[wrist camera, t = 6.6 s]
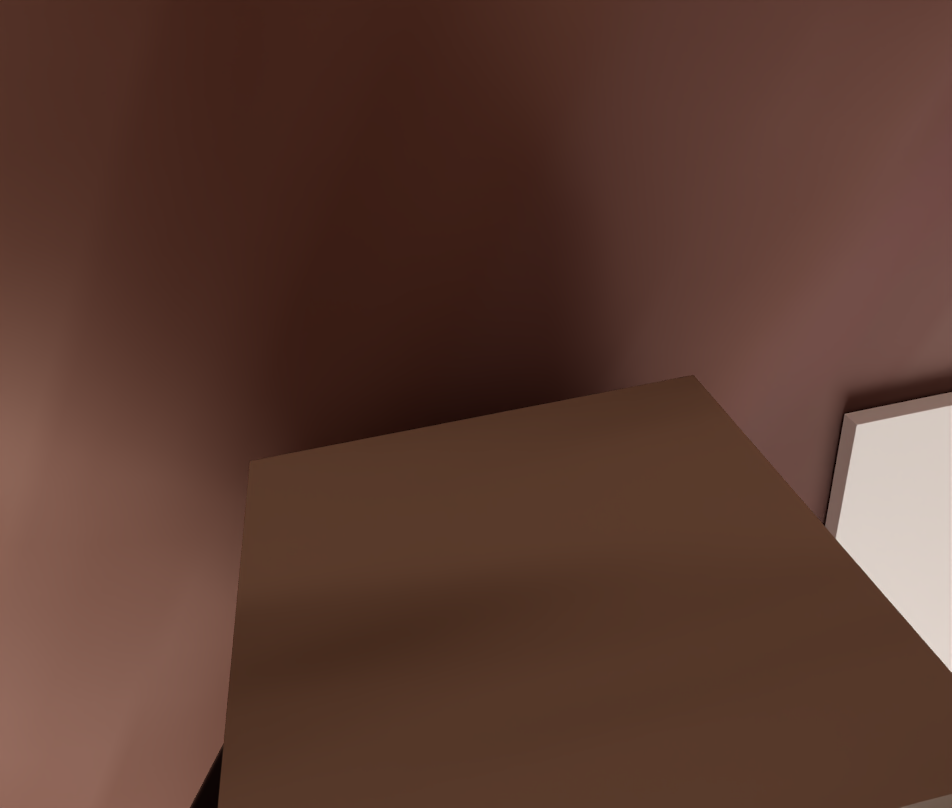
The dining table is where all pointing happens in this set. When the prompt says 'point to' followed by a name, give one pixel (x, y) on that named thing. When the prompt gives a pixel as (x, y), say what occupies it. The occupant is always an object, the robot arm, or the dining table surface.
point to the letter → (900, 509)
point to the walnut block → (567, 625)
